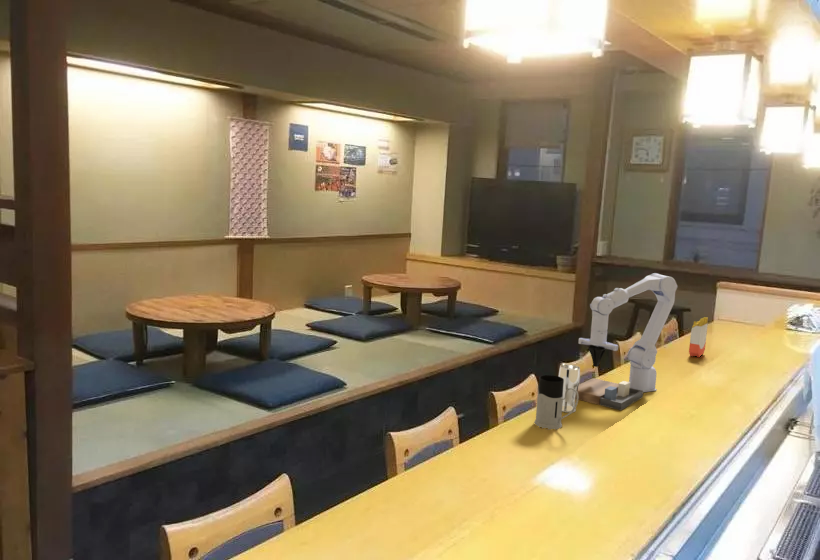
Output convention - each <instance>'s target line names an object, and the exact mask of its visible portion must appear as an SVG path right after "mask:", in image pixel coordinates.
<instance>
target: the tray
mask: <svg viewBox="0 0 820 560" xmlns="http://www.w3.org/2000/svg"><path fill="white" fill-rule="evenodd" d="M617 394H618V393H617ZM643 395H644V392H643V391H642V390H638V389H633V388H629V395H627V396H625V397H622V396H618V395H616V400H615V401H613V400H609V399H605V398H600V405H599V406H601V407H606V408H611V409H615V410H619V411H622V410H624V409H626V408H627V407H629V406H631V405H632V404H634V403H636V402H637V401H639V400H641V399H643Z"/></svg>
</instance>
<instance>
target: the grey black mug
mask: <svg viewBox="0 0 820 560" xmlns="http://www.w3.org/2000/svg"><path fill="white" fill-rule="evenodd" d="M563 384H564V379H563V378H561V377H559V375H551V374H545V375H540V376H539V379H538V386H537V398H536V412H535V413H536V414H535V420H534V421H533V424H534V423H535V424H536V425H537V426H539V427H538V428H540V427H542V428H541V429H543V428H548V429H547V430H551V429H555V430H559V428H560V429H561V427H562V428H563V424H562V420H563V419H565V418H566V417H568V416H569V415H571V414H573V413H574V412H573V411H574V410H575V408H576V409H577V406H578V403H579V400H578V398H579V396H578V392H577V391H576V390H575V389H573V388H569V389H567V390H566V392H565V398H563ZM570 389H572V390H574V391H575V392H576V395H577V399H576V400H575V407H574V408H573V410H572V411H571V412H570V413H567V414H565V415H564V416H563V415H562V414H563V412H562V404H563V400H564V399H566V397H567V392H568V391H569V390H570ZM572 412H573V413H572ZM535 424H534V425H535ZM536 425H535V426H536ZM537 426H536V427H537Z"/></svg>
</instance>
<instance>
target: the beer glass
mask: <svg viewBox="0 0 820 560" xmlns="http://www.w3.org/2000/svg"><path fill="white" fill-rule="evenodd" d="M558 377H561V378H563V379H564V384H563V398H565V392H566V390H567V389H569V388H573V389H575V390H576V391H578V387H579V384H580V381H581V367H580V366H579V365H577V364H572V363H569V364H568V363H563V364H562V363H561V364H560V366H559V371H558ZM576 400H577V399H576V392H575V391H574V390H572V389H570V390H569V391H568V392H567V397H566V399H564V400H563V404H562V413H567V414H569V413H570V412H571V411H572V410H573V408H574V407H575V404H576ZM576 411H577V407H576V408H575V410H574V411H573V412H572V413H571V414H573V413H575V412H576Z"/></svg>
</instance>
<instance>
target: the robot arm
mask: <svg viewBox="0 0 820 560" xmlns="http://www.w3.org/2000/svg"><path fill="white" fill-rule="evenodd" d="M678 287H679V286H678V284H677V281H676V280H675V278H674V277H672V276H668V275H663V274H660V273H657V272H654V273H651V274H649V275H646V276H645V277H644V278H642V279H641V280H639V281H637V282H635V283H634V284H632V285H630V286H628V287H627V288H622V287H620V288H619V287H615V288H614V289H613V291H610V292H608V293H607V294H606V293H604V294H602V296H596V297H594V298H593V300H592V301H591V303H589V307H590V309H591V317H592V318H591V326H590V338H585V337H579V338H578V344H579V345H586V346H589V347H588V351H589V353H590V356H591V359H592V364H593V367H595V368H598V367H599V366H600V364H601V361H602V358H603V357H604V354H605V352H606V351H607V350H611V351H614V352H617V351H618V350H619V344H615V343H612V342H608V341H607V339H608V330H609V329H608V327H609V315H610V314H611V313H612V312H613V310H614V309H615V308H618V307H619V306H622V305H624V304H626V303H628V301H629V298H632V297H633V296H635V295H639V294H641V293H643V292H647V291H651V292H652V293H653V294H654V295H655V298H656V299H657V302H656V304H655V306H654V309H653V311H652V313H651V316H650V318H649V319H648V322H647V324H646V327H645V329H644V330H643V333H642V335H641V338H640V339H638V340H636V341H635V342H634V344H633V345H632V346H631V347H630V348H629V350H628V351H627V358H628V360H629V363H630V367H629V368H630V369H629V378H628V382H630V388H633V389H638V390H642V391H643V393H648V392H654V391H657V390H658V389H656V385H657V384H656V383H657V370H656V368H655V367H654V365H655V363H656V358H657V357H656V356H657V354H658V350H657V347H656V344H657V341H658V340H659V338H660V335H661V333H662V330H663V328H664V326H665V324H666V322H667V320H668V317H669V315H670V312H671V311H672V308H673V307H674V304H675V300H676V291H677V289H678Z"/></svg>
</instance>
